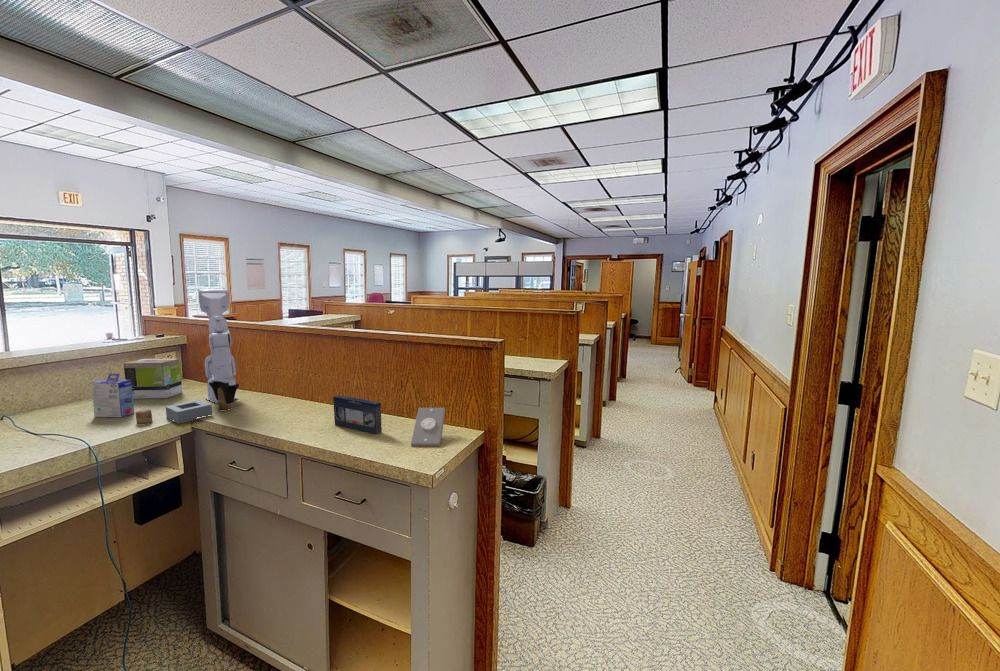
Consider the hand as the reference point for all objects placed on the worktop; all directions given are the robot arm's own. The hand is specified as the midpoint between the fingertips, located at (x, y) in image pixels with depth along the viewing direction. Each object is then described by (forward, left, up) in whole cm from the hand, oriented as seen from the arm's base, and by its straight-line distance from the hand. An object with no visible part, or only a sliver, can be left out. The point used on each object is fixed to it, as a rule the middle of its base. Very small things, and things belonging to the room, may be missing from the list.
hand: (225, 401), depth 153 cm
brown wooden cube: (-6, -22, -3) cm, 23 cm away
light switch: (+80, +22, -3) cm, 84 cm away
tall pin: (0, 0, -3) cm, 3 cm away
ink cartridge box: (-24, -25, -3) cm, 35 cm away
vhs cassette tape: (+56, +15, -3) cm, 58 cm away
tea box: (-42, -8, -3) cm, 43 cm away
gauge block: (-1, -11, -3) cm, 11 cm away
